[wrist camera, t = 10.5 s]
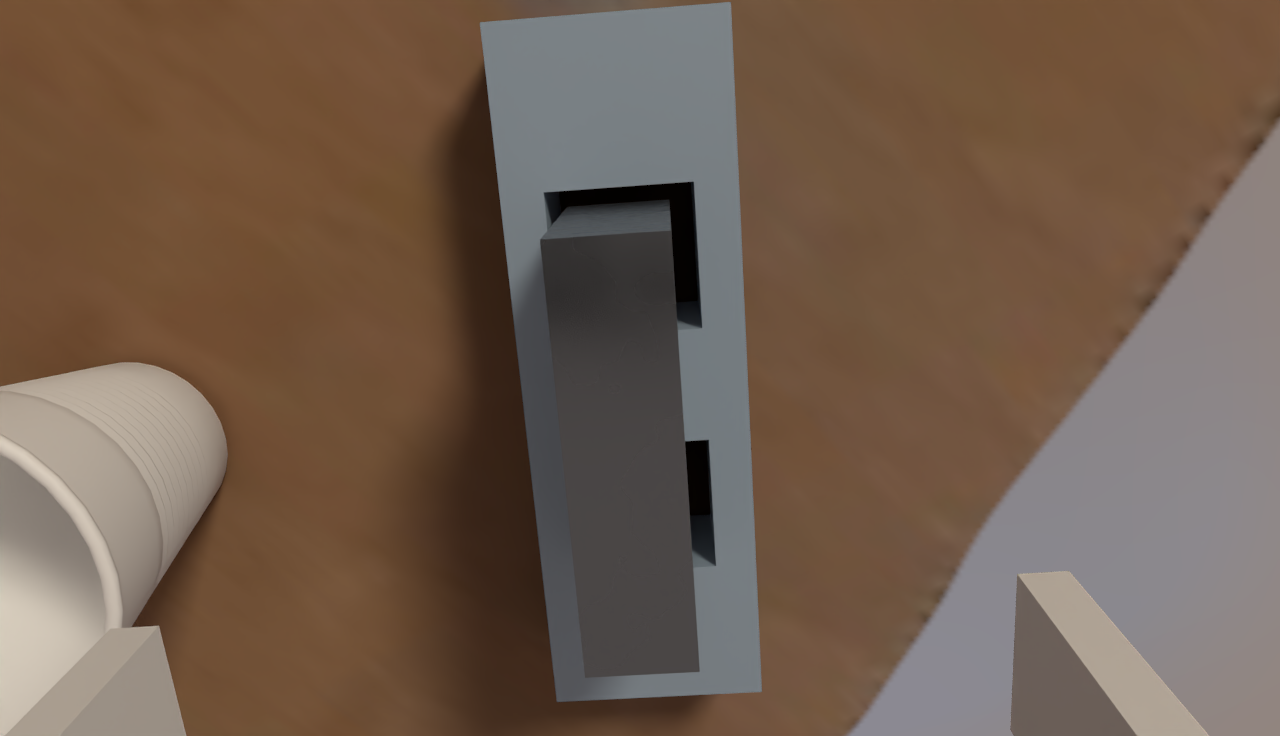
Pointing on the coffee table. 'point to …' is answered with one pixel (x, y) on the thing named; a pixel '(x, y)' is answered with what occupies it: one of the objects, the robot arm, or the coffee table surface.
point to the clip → (622, 435)
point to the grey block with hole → (707, 329)
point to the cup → (92, 510)
